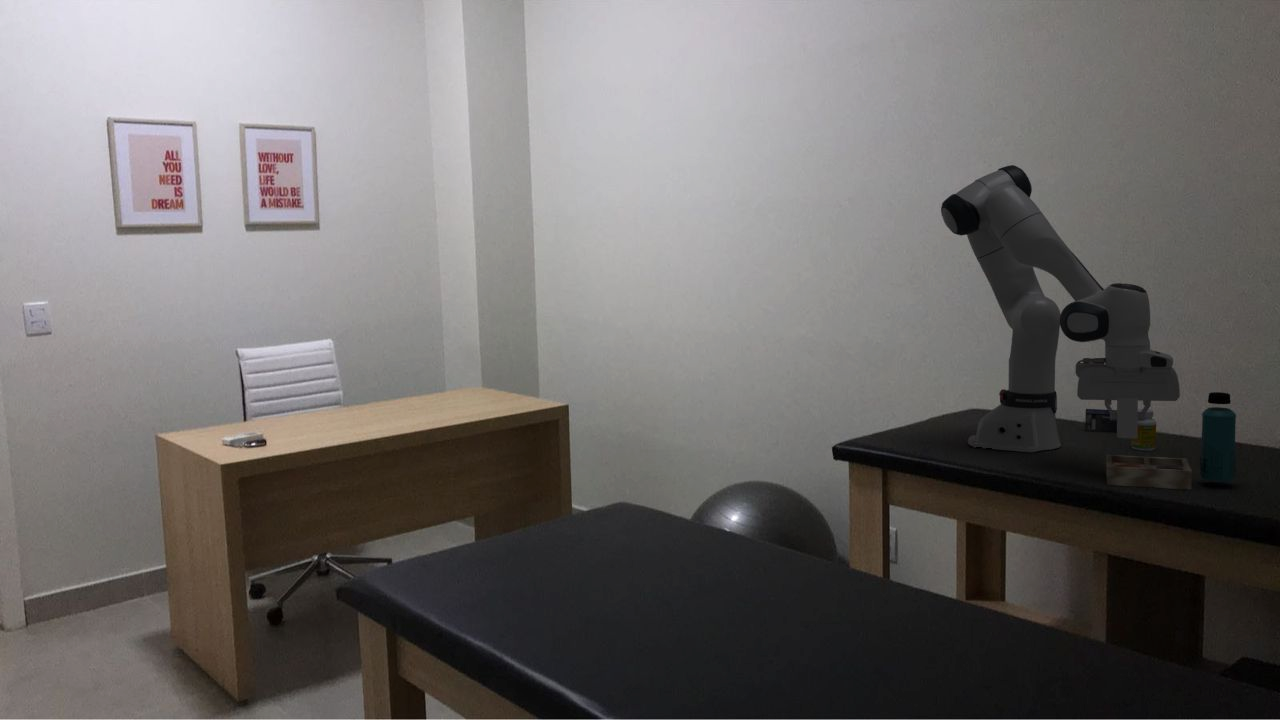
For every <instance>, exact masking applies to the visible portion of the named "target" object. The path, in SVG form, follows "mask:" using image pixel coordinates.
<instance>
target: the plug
mask: <svg viewBox="0 0 1280 720" xmlns="http://www.w3.org/2000/svg"><path fill="white" fill-rule="evenodd" d="M1138 402H1139V401H1138V398H1122V397H1117V400H1116V410H1117V433H1116V438H1117V439H1132V438H1137V439H1138V409H1139V403H1138Z"/></svg>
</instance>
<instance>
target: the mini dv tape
mask: <svg viewBox="0 0 1280 720" xmlns="http://www.w3.org/2000/svg"><path fill="white" fill-rule="evenodd" d="M1112 410H1113V411H1117V409H1112ZM1084 422H1085V426H1084V429H1085V430H1084V431H1085V432H1093V433H1094V432H1095V433H1107V434H1108V433H1111V434H1117V420H1110V412H1109V411H1108V410H1107V409H1097V408H1085V421H1084Z"/></svg>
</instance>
